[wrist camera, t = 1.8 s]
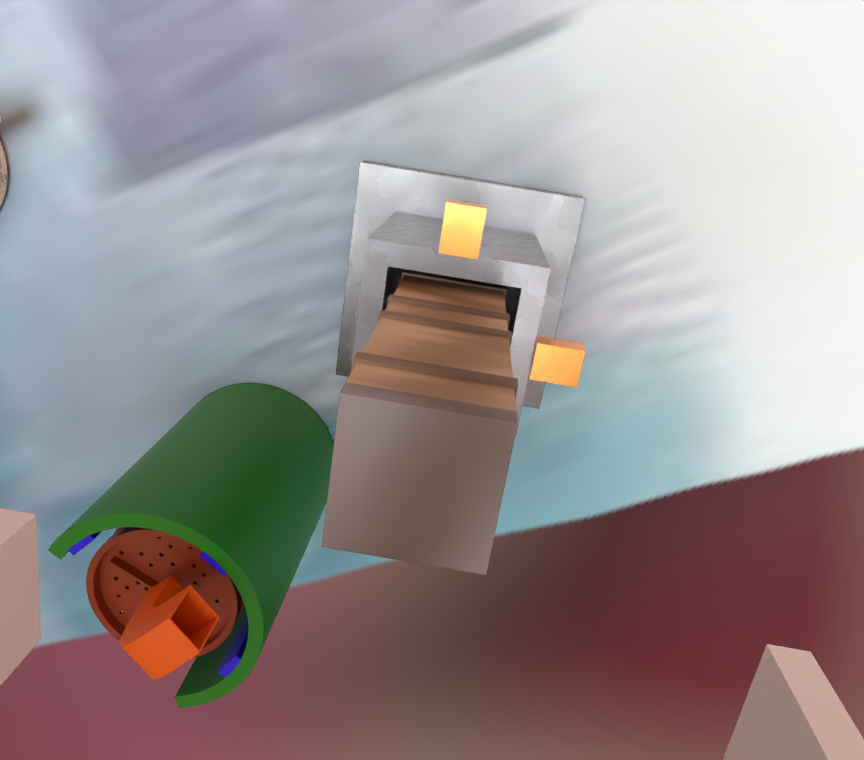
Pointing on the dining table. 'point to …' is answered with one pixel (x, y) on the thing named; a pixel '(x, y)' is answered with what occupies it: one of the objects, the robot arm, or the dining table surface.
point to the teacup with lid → (2, 173)
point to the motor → (208, 536)
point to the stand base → (466, 260)
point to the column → (426, 428)
